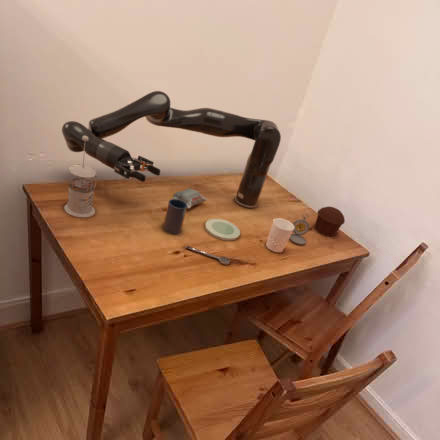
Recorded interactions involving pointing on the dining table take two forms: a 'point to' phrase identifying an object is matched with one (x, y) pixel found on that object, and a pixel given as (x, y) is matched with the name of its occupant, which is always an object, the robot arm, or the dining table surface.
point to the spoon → (221, 259)
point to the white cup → (279, 234)
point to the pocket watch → (296, 237)
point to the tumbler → (174, 216)
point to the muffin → (329, 221)
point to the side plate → (222, 229)
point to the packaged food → (189, 197)
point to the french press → (81, 190)
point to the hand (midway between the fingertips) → (152, 176)
